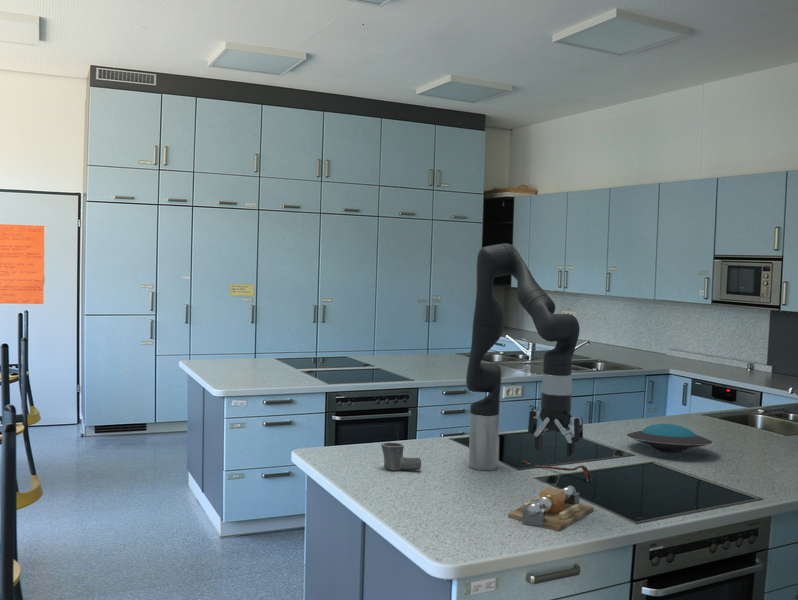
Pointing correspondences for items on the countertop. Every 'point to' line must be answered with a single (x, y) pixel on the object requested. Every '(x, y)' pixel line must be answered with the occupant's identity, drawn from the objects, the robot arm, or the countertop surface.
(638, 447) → the countertop surface
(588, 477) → the crowbar
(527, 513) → the shaft
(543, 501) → the coupling
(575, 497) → the shaft
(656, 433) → the decorative object
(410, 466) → the pipe
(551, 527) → the wooden tray with rails
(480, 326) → the robot arm
